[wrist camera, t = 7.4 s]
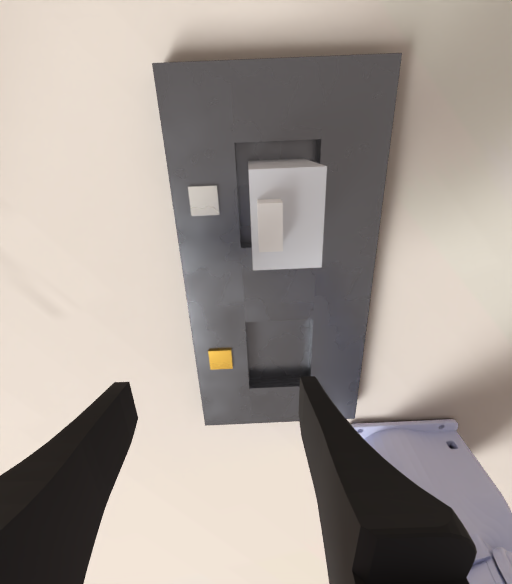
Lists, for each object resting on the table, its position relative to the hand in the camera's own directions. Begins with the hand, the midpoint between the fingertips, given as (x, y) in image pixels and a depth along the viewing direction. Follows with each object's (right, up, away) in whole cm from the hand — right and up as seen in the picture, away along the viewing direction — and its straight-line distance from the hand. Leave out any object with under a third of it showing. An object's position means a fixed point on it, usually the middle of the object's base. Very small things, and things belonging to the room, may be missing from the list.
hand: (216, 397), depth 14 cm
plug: (+3, +10, +6) cm, 12 cm away
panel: (+3, +6, +8) cm, 10 cm away
